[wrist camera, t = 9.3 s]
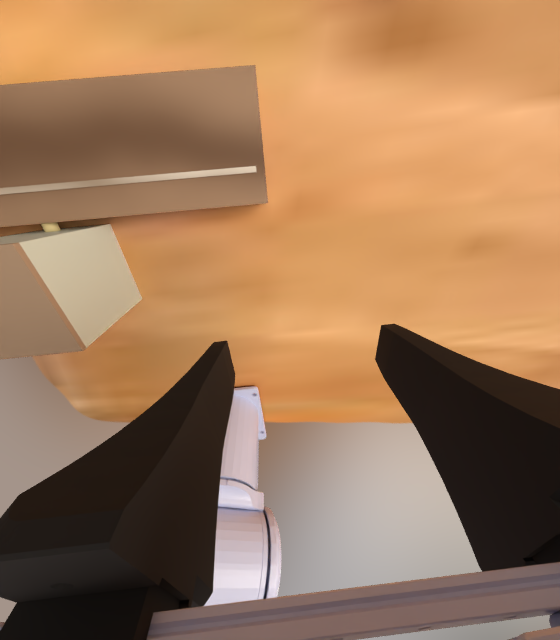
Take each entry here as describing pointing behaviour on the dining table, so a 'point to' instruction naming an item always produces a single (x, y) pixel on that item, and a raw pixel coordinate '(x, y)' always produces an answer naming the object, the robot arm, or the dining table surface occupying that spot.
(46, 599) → the robot arm
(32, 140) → the tan rectangular bar
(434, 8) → the dining table surface
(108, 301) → the block
